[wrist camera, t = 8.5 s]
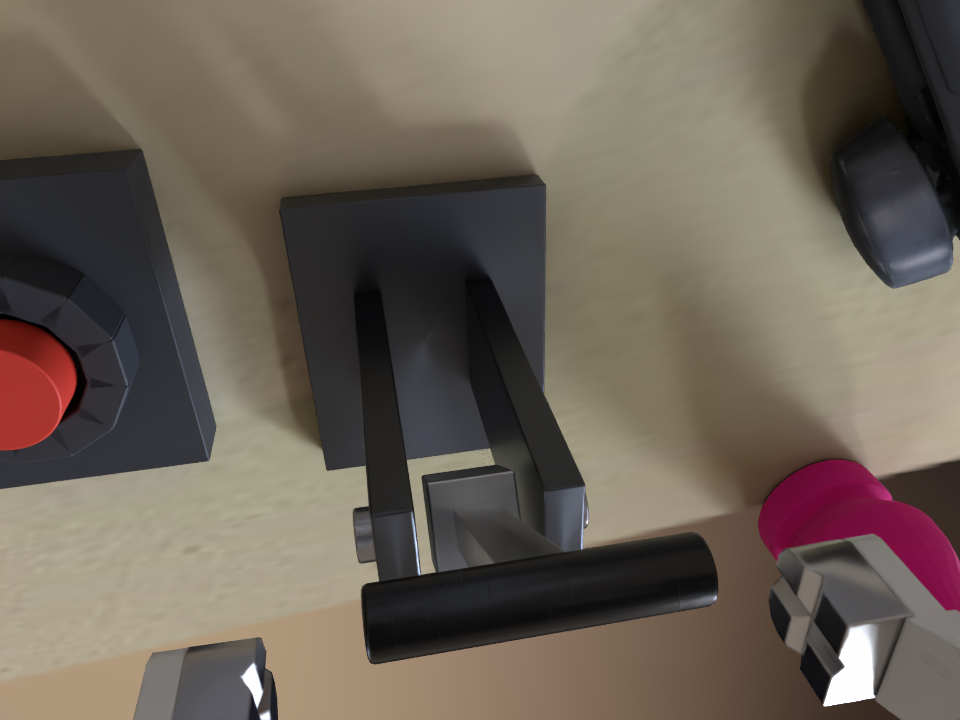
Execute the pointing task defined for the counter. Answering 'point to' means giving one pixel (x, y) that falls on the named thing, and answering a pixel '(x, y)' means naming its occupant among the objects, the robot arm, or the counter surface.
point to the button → (32, 384)
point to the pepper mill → (859, 522)
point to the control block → (101, 317)
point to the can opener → (908, 148)
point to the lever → (521, 576)
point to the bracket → (431, 347)
